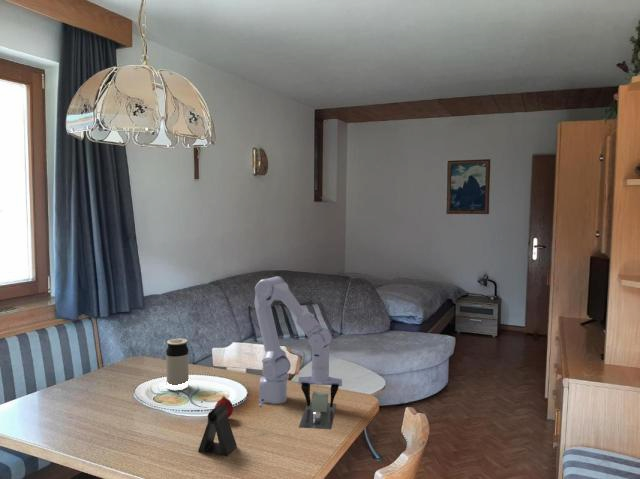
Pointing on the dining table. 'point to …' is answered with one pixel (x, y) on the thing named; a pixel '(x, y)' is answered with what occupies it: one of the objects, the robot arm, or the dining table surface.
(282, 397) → the robot arm
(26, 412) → the dining table surface
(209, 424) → the phone stand
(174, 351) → the travel mug
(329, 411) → the base plate
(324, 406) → the sage green cube
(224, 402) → the onion
